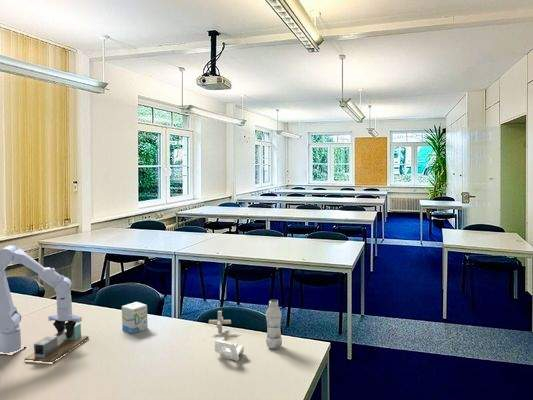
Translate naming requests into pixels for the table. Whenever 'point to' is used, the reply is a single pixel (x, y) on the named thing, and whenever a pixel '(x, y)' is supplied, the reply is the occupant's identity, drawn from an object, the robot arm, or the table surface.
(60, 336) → the grey rectangular bar
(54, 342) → the grey sleeve
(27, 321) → the table surface
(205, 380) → the table surface
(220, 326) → the pipe connector
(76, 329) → the teal socket block
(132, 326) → the ink box
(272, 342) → the plastic bottle
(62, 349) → the walnut board
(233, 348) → the mounting bracket
